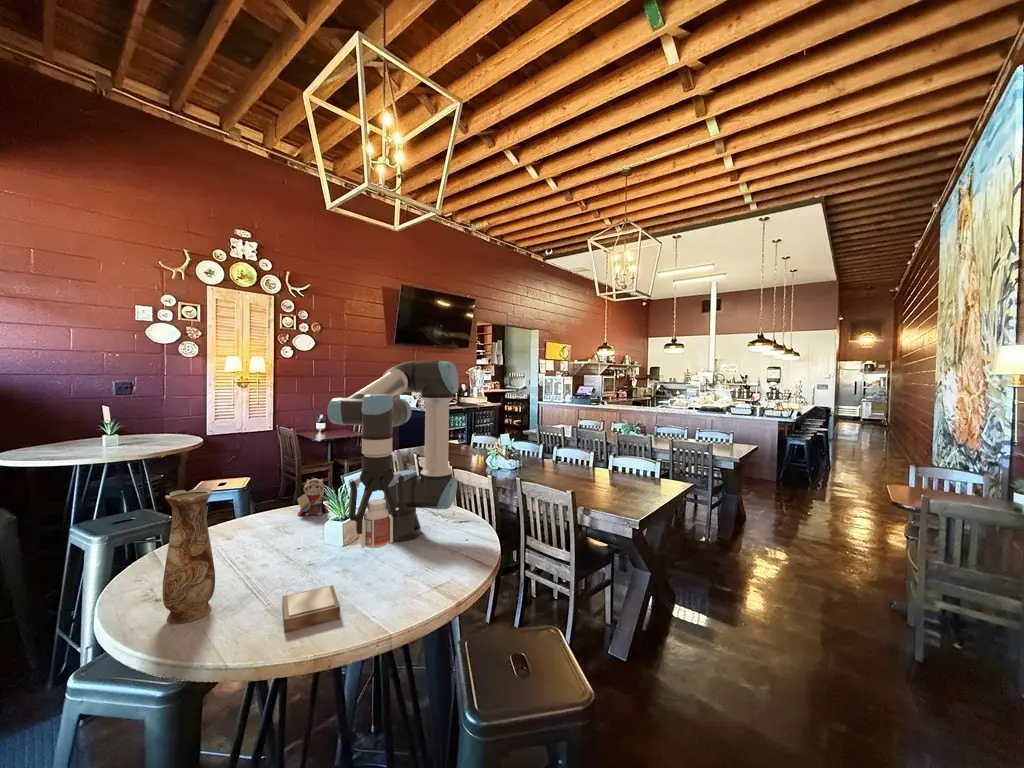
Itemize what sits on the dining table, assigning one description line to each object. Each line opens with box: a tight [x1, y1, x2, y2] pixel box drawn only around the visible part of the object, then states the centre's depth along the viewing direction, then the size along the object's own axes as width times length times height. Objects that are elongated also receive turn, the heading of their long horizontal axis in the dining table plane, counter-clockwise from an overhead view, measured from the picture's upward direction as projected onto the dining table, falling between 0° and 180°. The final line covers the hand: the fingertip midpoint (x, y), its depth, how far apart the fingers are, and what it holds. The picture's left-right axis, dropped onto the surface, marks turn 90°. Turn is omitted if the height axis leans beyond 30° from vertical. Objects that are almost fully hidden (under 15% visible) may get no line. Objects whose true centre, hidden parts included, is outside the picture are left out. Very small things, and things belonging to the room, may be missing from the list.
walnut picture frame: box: [281, 585, 341, 634], centre depth 108 cm, size 12×12×3 cm
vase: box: [161, 487, 216, 624], centre depth 106 cm, size 10×11×30 cm
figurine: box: [297, 477, 330, 517], centre depth 182 cm, size 13×11×15 cm
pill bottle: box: [363, 498, 390, 549], centre depth 111 cm, size 6×6×11 cm
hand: (376, 542), depth 111 cm, fingers closed on pill bottle, 6 cm apart
